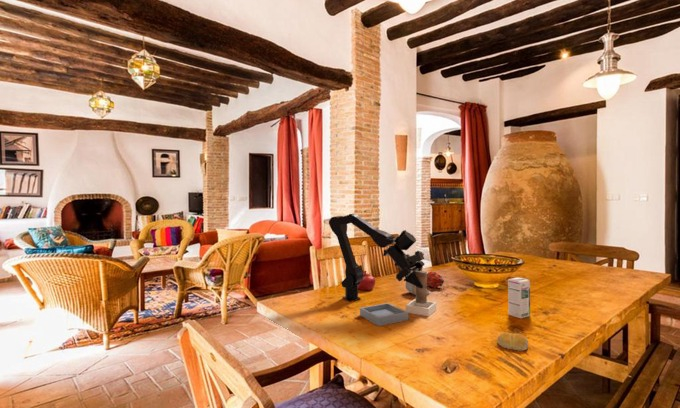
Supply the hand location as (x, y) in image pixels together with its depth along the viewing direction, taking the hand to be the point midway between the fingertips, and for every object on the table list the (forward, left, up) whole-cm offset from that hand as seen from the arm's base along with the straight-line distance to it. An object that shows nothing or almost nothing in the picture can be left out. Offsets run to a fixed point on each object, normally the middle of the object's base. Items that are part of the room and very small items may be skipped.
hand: (424, 286), depth 151 cm
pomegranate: (-42, -3, -11) cm, 44 cm away
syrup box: (+22, +29, -11) cm, 38 cm away
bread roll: (+39, +3, -11) cm, 41 cm away
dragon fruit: (-27, +29, -11) cm, 41 cm away
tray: (-2, -19, -10) cm, 22 cm away
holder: (-1, -1, -10) cm, 10 cm away
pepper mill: (-1, -1, -7) cm, 7 cm away
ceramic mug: (-22, +14, -11) cm, 28 cm away
